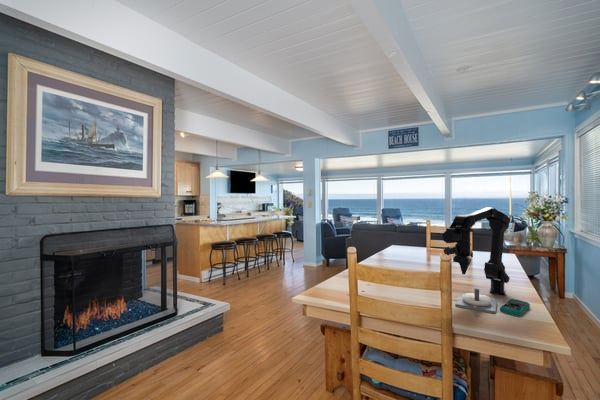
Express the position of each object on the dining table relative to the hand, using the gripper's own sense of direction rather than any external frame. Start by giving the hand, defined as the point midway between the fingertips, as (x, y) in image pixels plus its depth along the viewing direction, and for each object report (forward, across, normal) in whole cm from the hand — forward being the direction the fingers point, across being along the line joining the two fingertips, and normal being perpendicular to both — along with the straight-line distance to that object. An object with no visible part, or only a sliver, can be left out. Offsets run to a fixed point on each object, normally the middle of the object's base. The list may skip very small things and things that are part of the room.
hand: (463, 274), depth 139 cm
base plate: (+12, +4, +6) cm, 14 cm away
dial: (+11, +4, +6) cm, 13 cm away
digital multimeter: (+13, +2, +20) cm, 23 cm away
